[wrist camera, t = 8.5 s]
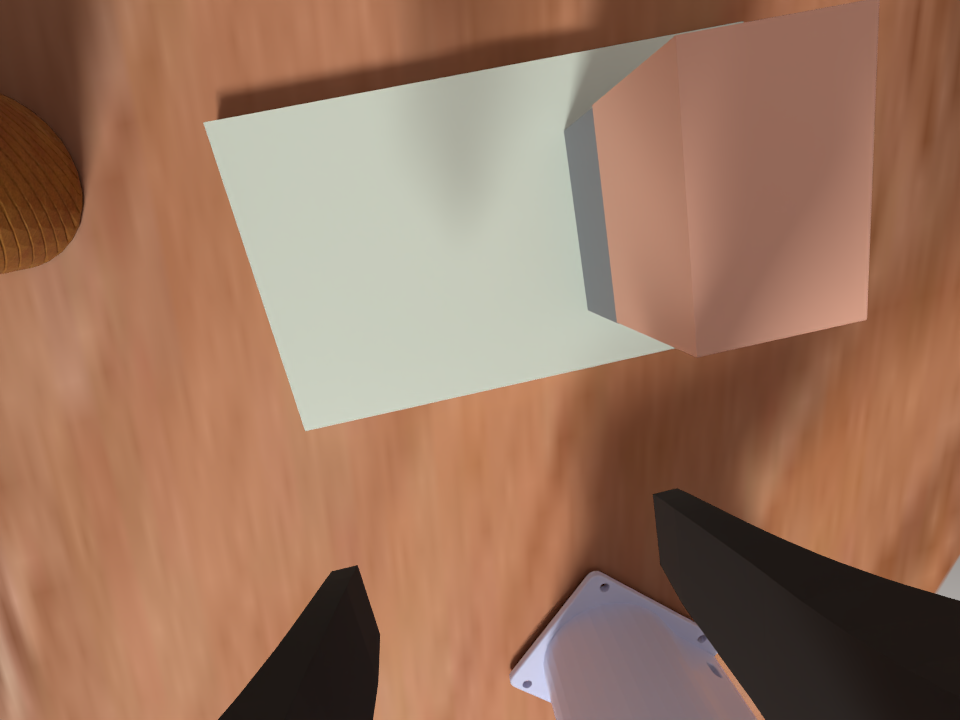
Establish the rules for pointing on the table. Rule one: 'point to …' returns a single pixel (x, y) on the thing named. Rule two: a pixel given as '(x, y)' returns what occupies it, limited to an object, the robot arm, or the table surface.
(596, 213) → the charcoal brick
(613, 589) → the robot arm
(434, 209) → the baseplate
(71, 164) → the disposable coffee cup
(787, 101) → the terracotta brick
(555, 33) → the table surface
